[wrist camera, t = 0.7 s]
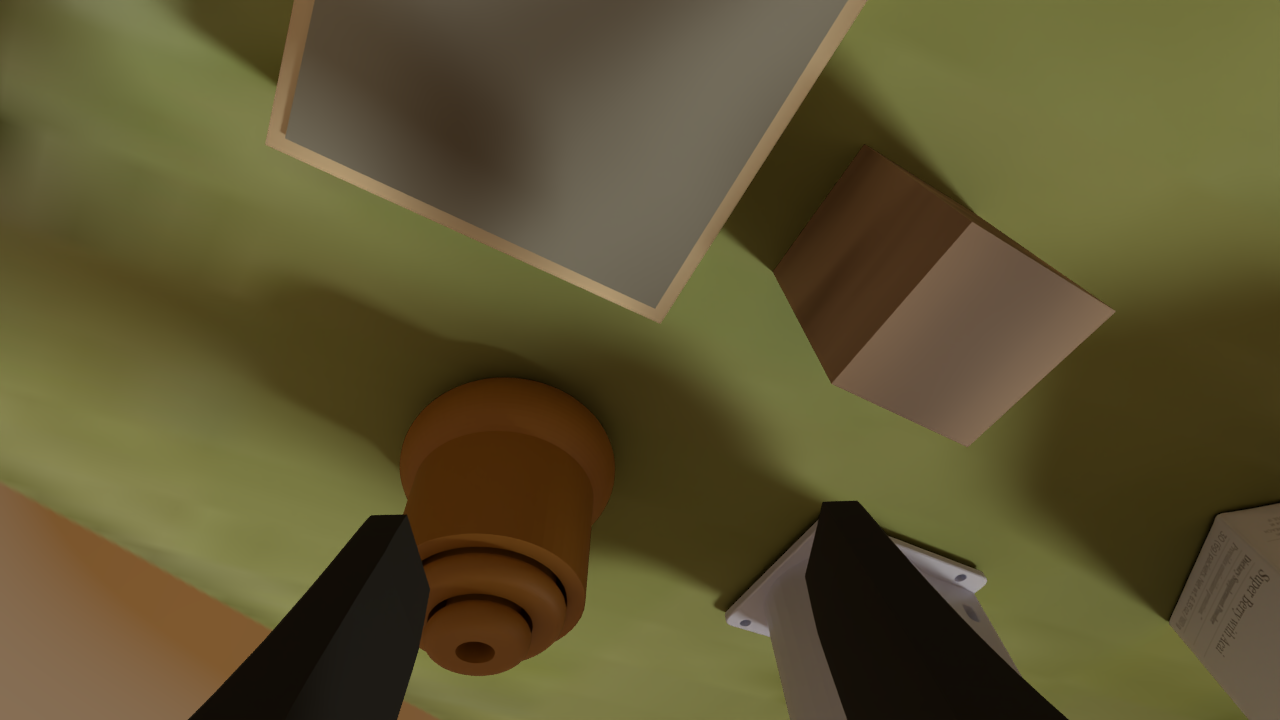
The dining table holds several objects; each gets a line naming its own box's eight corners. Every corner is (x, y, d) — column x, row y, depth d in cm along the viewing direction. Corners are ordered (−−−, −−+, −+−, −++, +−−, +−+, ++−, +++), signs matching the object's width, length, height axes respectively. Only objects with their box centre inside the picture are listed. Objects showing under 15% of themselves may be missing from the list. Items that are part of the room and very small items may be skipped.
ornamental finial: (398, 493, 23) (429, 339, 20) (581, 531, 25) (643, 396, 21) (315, 704, 17) (337, 534, 13) (571, 736, 18) (658, 593, 15)
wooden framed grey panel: (863, -74, 14) (922, -81, 11) (653, 275, 19) (660, 326, 16) (443, -398, 11) (391, -511, 8) (320, 115, 16) (261, 146, 13)
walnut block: (975, 214, 18) (1116, 311, 13) (878, 326, 20) (967, 446, 15) (863, 143, 17) (971, 222, 12) (772, 271, 19) (831, 383, 14)
